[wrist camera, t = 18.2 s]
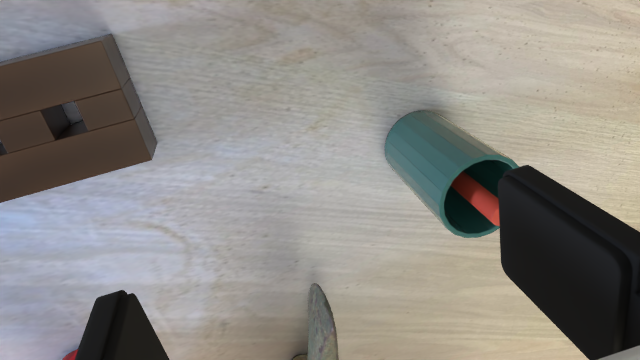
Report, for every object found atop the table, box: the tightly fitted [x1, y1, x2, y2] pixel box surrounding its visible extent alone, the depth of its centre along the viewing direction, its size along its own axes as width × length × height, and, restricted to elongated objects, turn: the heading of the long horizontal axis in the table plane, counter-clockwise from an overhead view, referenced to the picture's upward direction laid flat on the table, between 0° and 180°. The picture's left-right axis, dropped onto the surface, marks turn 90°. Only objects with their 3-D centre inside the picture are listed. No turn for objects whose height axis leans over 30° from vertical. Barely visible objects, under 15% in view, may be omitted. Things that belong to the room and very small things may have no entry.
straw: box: [450, 171, 500, 226], centre depth 38 cm, size 2×2×14 cm
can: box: [385, 110, 519, 238], centre depth 40 cm, size 7×7×12 cm
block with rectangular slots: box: [0, 34, 157, 203], centre depth 35 cm, size 9×15×4 cm, turn 102°
